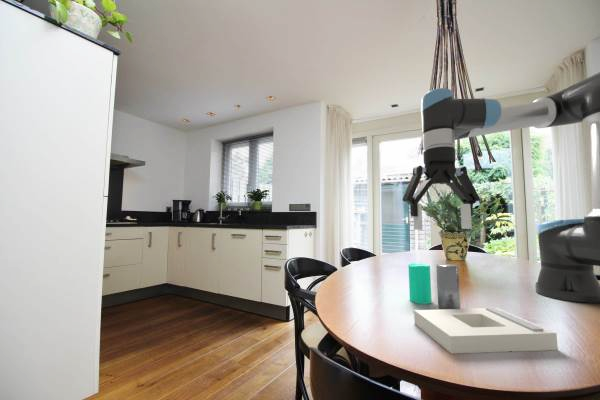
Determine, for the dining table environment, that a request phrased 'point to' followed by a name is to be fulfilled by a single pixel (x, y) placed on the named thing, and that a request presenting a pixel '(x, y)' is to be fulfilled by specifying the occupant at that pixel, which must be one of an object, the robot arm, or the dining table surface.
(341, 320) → the dining table surface
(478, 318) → the jig
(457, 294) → the tall grey prism
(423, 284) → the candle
